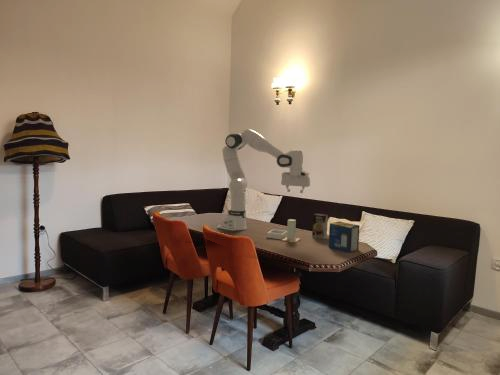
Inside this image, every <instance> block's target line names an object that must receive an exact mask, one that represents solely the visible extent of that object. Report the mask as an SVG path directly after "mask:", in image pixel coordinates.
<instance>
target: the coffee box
mask: <svg viewBox="0 0 500 375" xmlns="http://www.w3.org/2000/svg"><path fill="white" fill-rule="evenodd" d="M312 215H313V216H312V217H313V218H312V234H311V235H312V236H311V238H316V239H326V238H328V237H327V236H328V220H329V215H328V214H324V213H314V214H312Z"/></svg>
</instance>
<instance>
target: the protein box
mask: <svg viewBox="0 0 500 375" xmlns="http://www.w3.org/2000/svg"><path fill="white" fill-rule="evenodd" d="M360 226H361V225H360V224H355V223H348V222H343V221H334V222H329V232H328V248H330V249H335V250H338V251H341V252H345V253H352V252H355V251H359V243H360V242H359V241H360Z"/></svg>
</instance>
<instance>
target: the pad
mask: <svg viewBox="0 0 500 375" xmlns="http://www.w3.org/2000/svg"><path fill="white" fill-rule="evenodd" d="M300 240H301V238H299V237H295V239H294V240H288V239H287V237H285V238H284V239H281V241H282V242H286V243H295V244H297V243H298V242H300Z"/></svg>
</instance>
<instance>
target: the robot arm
mask: <svg viewBox="0 0 500 375" xmlns="http://www.w3.org/2000/svg"><path fill="white" fill-rule="evenodd" d="M224 142H225V146H224V147H223V148H222V150H221V151H222V158H223V161H224V165H225V169H226V172H227V174H228V175H229V178H230V182H229V186H228V188H229V195H230V209H229V210H227V213H228V214H227V215H225V216H224V217H223V218H222V219H221V221H220V224H219V225H217V229H222V230H226V231H233V232H234V231H244V230H245V231H246V230H247V229H248V227H247V223H246V222H247V221H246V216H247V213H246V211H247V210H246V193H245V190H246V189H247V187H248V180H247V178H246V175H245V172H244V171H243V168H242V166H241V162H240V159H239V155H238V150H242V148H244V147H245V146H246V145H247V146H248V147H250V148H251V149H253V150H255V151H258V152H262V153H267V154H269V155H271V156H272V157H274V158H275V159H276V164H277V166H279V167H280V168H288V169H289V171H288V172H287V171H284V172H282V173H281V182H280V184H281V185H282V186H285V188H286V190H287V193H291V189H290V188H289V186H291V187H292V186H293V187H301V190H300V192H299V193H300V194H303V193H304V190H305V188H306V187H307V188H308V187H310V186H311V180H310V179H311V178H310V176H309V175H310V173H309V172H308V171H305V170H303V163H304V154H303V151H302V150H299V149H291V150H290V151H287V152H284V151H282V150H281V149H279V148H277V147H276V146H274V145H273V144H272V143H270V142H269V140H267V139H266V138H265V137H264V136H262V135H261V134H260V133H259V132H256V131H255V130H253V129H250V128H246V129H245V130H243V131H242V133H239V132H236V133H230V134H228V135H227V136H226V137H225V141H224Z"/></svg>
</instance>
